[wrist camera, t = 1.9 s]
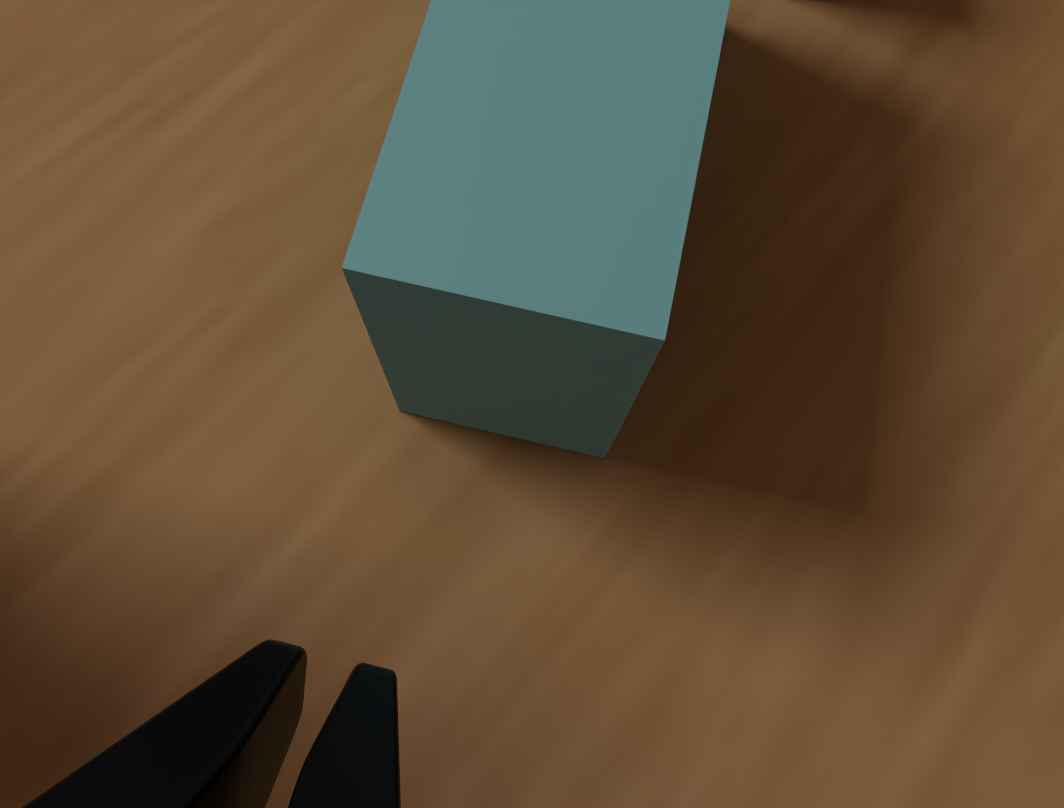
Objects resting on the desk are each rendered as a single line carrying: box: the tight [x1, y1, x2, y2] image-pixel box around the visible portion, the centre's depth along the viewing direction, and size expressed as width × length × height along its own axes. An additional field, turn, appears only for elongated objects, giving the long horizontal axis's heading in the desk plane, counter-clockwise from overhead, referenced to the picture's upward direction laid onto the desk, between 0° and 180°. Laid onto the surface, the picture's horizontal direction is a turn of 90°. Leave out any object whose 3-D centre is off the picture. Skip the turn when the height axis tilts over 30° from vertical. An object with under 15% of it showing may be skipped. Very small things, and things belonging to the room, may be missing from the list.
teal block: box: [342, 0, 730, 458], centre depth 21 cm, size 16×6×9 cm, turn 167°
